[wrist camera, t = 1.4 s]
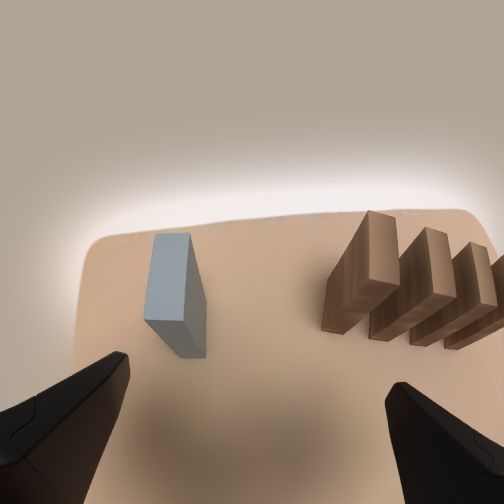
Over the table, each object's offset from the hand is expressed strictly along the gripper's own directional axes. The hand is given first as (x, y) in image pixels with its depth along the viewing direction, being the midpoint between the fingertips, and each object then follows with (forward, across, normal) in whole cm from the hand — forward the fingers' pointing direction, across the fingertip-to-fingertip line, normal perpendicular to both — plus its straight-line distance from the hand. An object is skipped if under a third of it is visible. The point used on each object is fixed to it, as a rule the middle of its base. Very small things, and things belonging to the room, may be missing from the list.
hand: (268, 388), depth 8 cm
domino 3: (+15, -12, +4) cm, 20 cm away
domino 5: (+13, -21, +4) cm, 25 cm away
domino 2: (+15, -8, +4) cm, 18 cm away
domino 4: (+14, -17, +4) cm, 22 cm away
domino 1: (+13, +4, +7) cm, 16 cm away
